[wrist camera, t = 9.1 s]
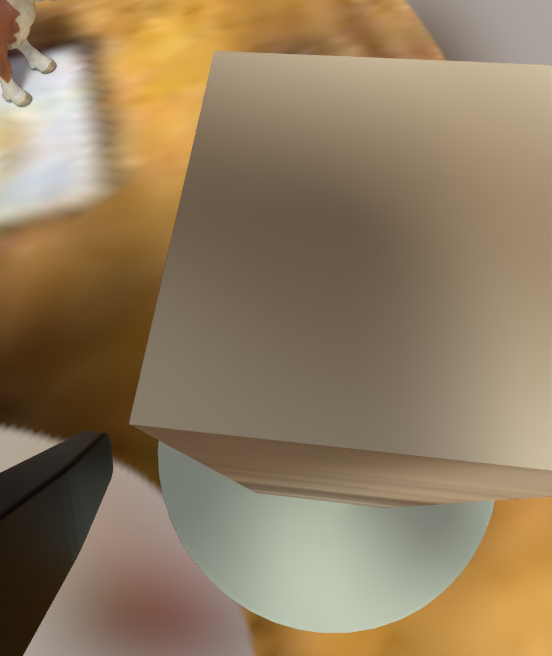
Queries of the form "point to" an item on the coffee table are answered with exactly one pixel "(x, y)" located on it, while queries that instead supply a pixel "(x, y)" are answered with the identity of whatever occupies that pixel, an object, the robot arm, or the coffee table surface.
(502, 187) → the birch block
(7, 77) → the bull figurine
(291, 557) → the saucer
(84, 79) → the coffee table surface
